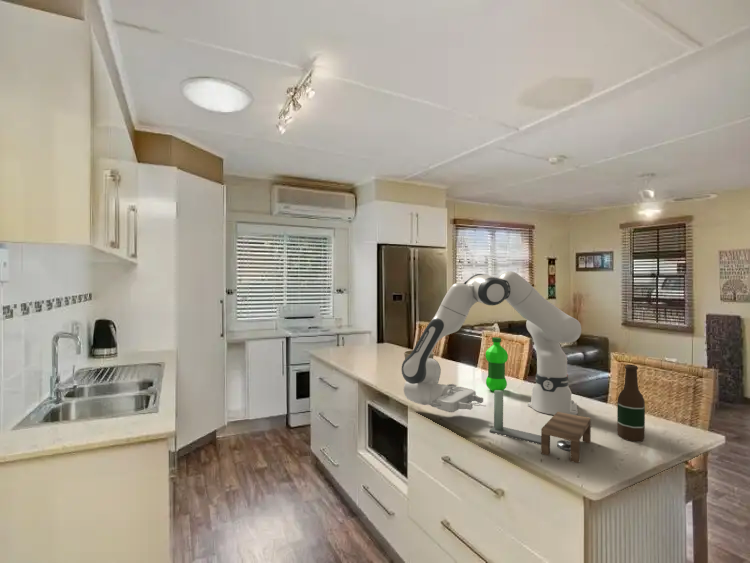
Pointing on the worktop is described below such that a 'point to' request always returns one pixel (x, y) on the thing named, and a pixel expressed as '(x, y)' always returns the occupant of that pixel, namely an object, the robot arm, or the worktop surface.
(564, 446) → the silver flat disc
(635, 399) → the beer bottle
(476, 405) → the scissors
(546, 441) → the bench
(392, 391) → the worktop surface
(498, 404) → the cylinder
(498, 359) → the plastic bottle
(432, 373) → the robot arm
